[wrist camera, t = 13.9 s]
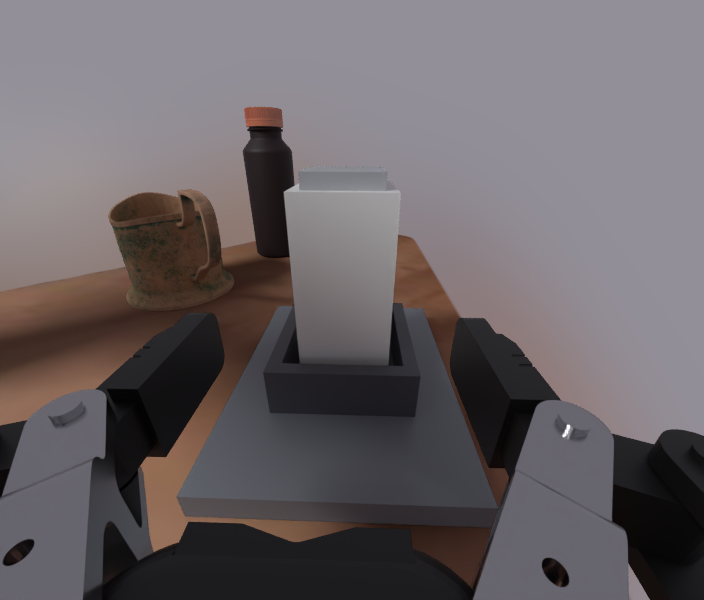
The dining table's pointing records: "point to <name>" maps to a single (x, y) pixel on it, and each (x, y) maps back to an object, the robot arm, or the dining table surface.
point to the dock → (342, 439)
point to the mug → (170, 250)
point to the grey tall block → (343, 263)
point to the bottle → (268, 179)
